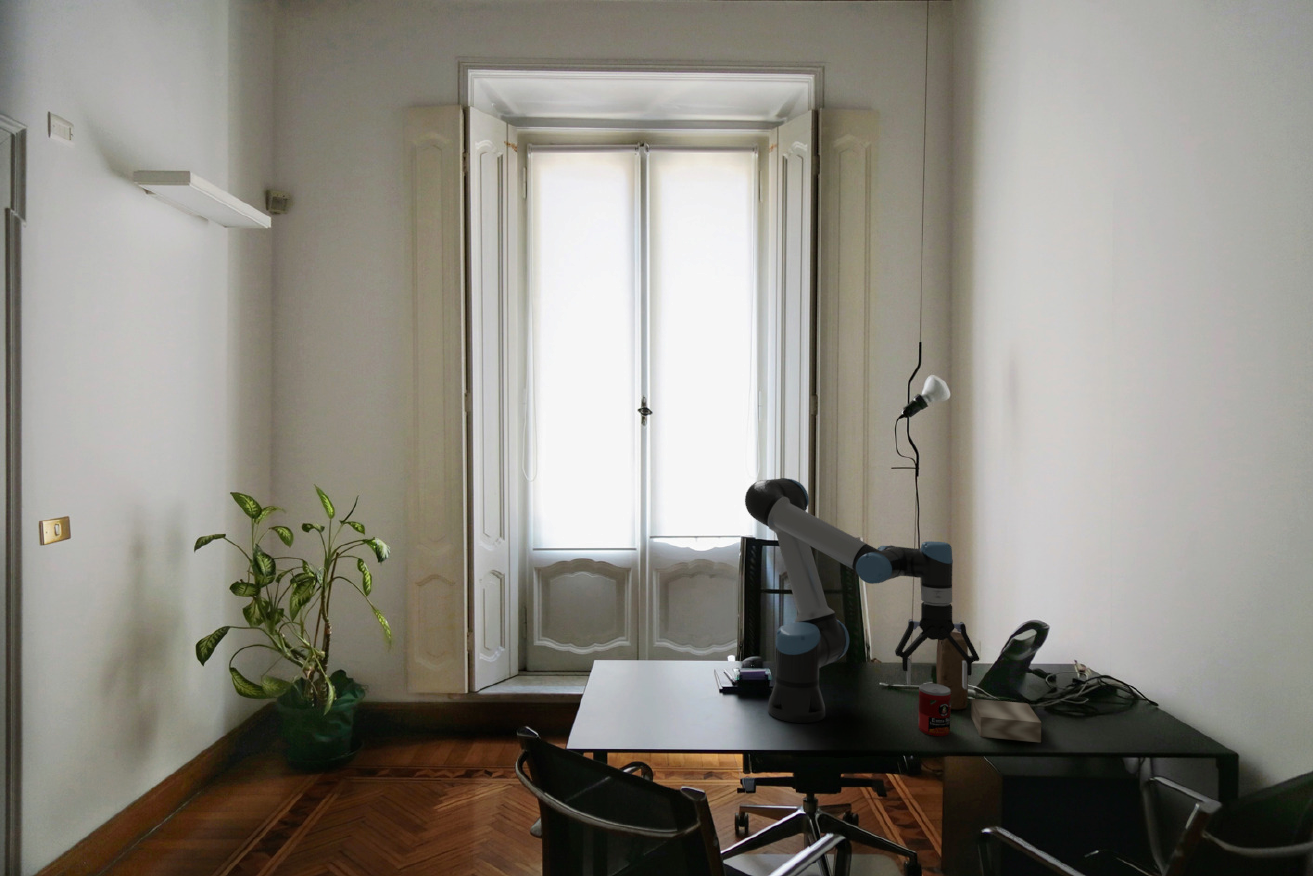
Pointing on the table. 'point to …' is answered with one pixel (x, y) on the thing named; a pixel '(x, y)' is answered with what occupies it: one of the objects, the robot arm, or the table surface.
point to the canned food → (934, 709)
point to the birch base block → (1006, 720)
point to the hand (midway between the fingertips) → (936, 685)
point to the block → (952, 670)
